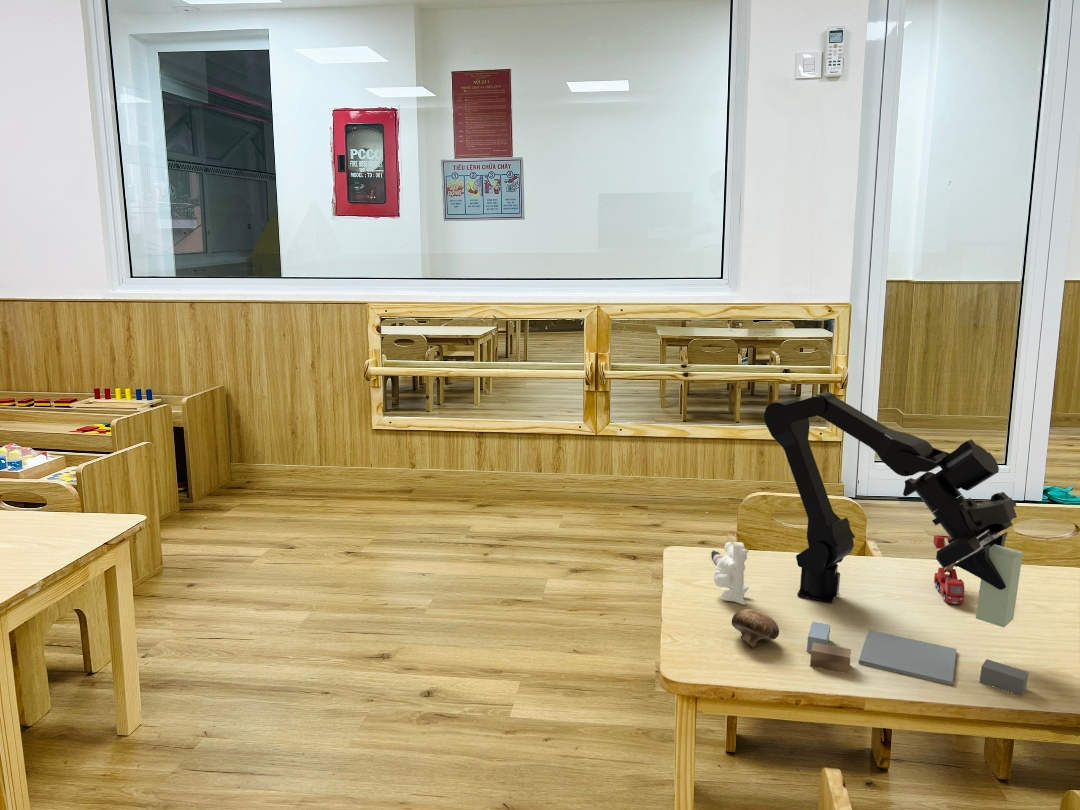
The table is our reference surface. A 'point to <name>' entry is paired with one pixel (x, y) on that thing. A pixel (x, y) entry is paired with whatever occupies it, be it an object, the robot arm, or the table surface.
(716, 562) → the marker
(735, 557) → the white toy figurine
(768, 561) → the table surface
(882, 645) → the slate mat
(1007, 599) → the sage brick
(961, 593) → the toy fire truck
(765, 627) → the mushroom
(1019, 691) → the charcoal brick
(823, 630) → the dusty blue brick
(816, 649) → the walnut brick
